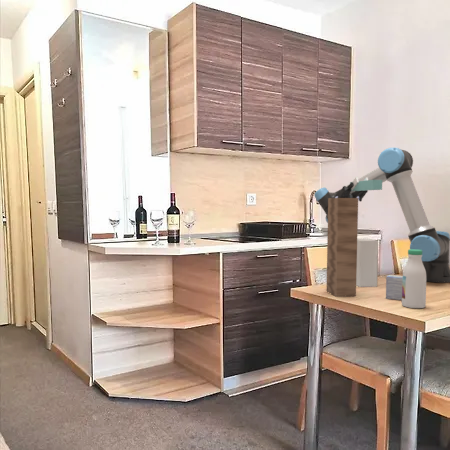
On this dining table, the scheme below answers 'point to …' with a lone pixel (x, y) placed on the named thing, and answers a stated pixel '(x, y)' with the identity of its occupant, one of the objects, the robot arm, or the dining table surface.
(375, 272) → the grey block
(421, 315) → the dining table surface
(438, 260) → the robot arm
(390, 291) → the medicine box
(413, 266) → the milk bottle
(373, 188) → the teal bar
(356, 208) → the walnut stand
